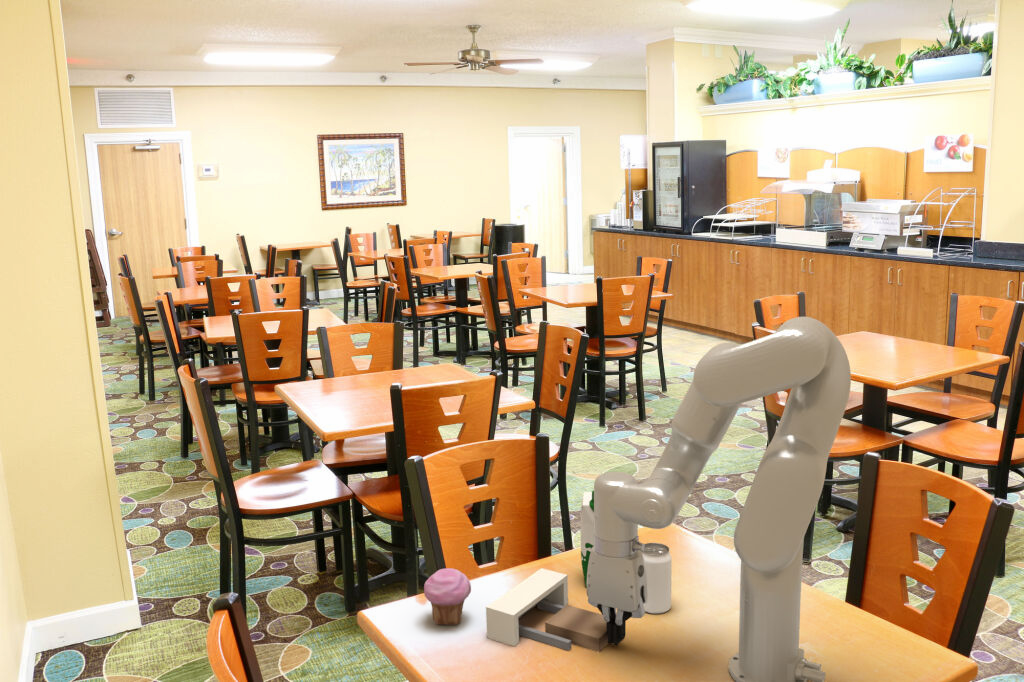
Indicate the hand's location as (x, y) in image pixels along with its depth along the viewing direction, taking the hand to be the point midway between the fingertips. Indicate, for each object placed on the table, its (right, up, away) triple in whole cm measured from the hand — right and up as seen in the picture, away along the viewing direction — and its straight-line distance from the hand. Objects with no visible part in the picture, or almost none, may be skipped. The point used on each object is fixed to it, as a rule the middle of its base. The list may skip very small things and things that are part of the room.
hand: (615, 641), depth 154 cm
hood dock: (-11, 0, +8) cm, 14 cm away
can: (+9, +1, +14) cm, 17 cm away
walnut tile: (-6, -1, +5) cm, 7 cm away
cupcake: (-30, 0, +11) cm, 33 cm away
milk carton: (0, +3, +26) cm, 26 cm away
